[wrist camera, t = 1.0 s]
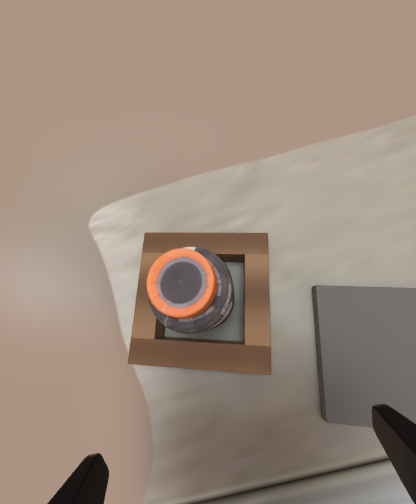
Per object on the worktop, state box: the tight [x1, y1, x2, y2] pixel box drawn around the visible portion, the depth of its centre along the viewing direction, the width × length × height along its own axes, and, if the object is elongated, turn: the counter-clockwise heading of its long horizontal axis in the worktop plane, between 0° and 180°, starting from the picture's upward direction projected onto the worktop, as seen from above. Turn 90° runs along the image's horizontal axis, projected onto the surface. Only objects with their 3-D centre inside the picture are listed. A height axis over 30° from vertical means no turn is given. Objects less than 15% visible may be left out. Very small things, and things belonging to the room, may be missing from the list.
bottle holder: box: [128, 233, 271, 375], centre depth 22 cm, size 12×12×3 cm
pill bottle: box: [147, 247, 234, 334], centre depth 19 cm, size 6×6×11 cm
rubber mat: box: [312, 285, 416, 427], centre depth 20 cm, size 11×11×1 cm
